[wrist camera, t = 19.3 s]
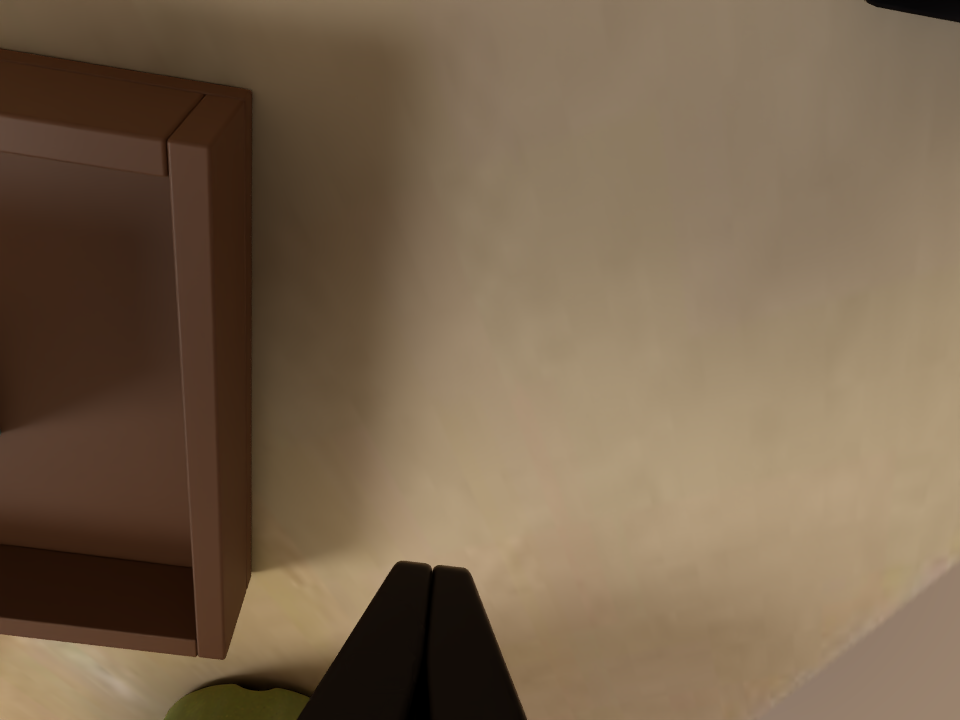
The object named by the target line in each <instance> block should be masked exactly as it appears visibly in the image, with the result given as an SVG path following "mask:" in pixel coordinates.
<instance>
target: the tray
mask: <svg viewBox="0 0 960 720" xmlns="http://www.w3.org/2000/svg"><path fill="white" fill-rule="evenodd" d="M251 317H252V92H251V90H248V89H242V88H236V87H230V86H223V85H217V84H211V83H205V82H199V81H193V80H187V79H181V78H175V77H169V76H163V75H156V74H150V73H144V72H138V71H132V70H126V69H120V68H114V67H108V66H102V65H96V64H89V63H83V62H77V61H71V60H65V59H59V58H53V57H47V56H41V55H35V54H29V53H22V52H16V51H10V50H4V49H0V430H1V435H0V634H3V635H12V636H20V637H29V638H37V639H46V640H55V641H63V642H72V643H80V644H89V645H97V646H106V647H114V648H123V649H132V650H140V651H149V652H157V653H166V654H174V655H183V656H191V657H196V656H197V655H198V656H199V657H204V658H212V659H221V660H223V659H225V658H226V655H227V652H228V649H229V645H230V642H231V639H232V636H233V632H234V629H235V626H236V623H237V619H238V616H239V613H240V610H241V607H242V603H243V600H244V597H245V594H246V589H247V588H248V584H249V581H250V578H251Z"/></svg>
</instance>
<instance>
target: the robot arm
mask: <svg viewBox="0 0 960 720" xmlns="http://www.w3.org/2000/svg"><path fill="white" fill-rule="evenodd" d="M864 1H866V2H867V3H869V4H871V5H874V6H876V7H880V8H885V9H890V10H896V11H901V12H906V13H911V14H917V15H922V16H927V17H933V18H938V19H943V20H948V21H954V22H959V23H960V0H864ZM297 720H527V718H526V715H525V712H524V710H523V707H522V705H521V702H520V700H519V697H518V694H517V692H516V689H515V687H514V684H513V681H512V679H511V676H510V674H509V671H508V668H507V666H506V663H505V661H504V658H503V656H502V653H501V650H500V648H499V645H498V643H497V640H496V637H495V635H494V632H493V630H492V627H491V625H490V622H489V619H488V617H487V614H486V612H485V609H484V606H483V604H482V601H481V599H480V596H479V593H478V591H477V588H476V586H475V583H474V581H473V578H472V576H471V574H470V572H469V571H468V570H467V569H466V568H462V567H453V566H444V565H437V566H435V567H434V568H433V571H432V568H431V566H430V565H429V564H426V563H419V562H410V561H399V562H397V563H396V564H395V565H394V566H393V568H392V569H391V571H390V572H389V574H388V576H387V577H386V579H385V580H384V582H383V584H382V585H381V587H380V588H379V590H378V591H377V593H376V595H375V596H374V598H373V599H372V601H371V603H370V604H369V606H368V607H367V609H366V610H365V612H364V614H363V615H362V617H361V618H360V620H359V622H358V623H357V625H356V626H355V628H354V629H353V631H352V633H351V634H350V636H349V637H348V639H347V641H346V642H345V644H344V645H343V647H342V648H341V650H340V652H339V653H338V655H337V656H336V658H335V660H334V661H333V663H332V664H331V666H330V667H329V669H328V671H327V672H326V674H325V675H324V677H323V679H322V680H321V682H320V683H319V685H318V686H317V688H316V690H315V691H314V693H313V694H312V696H311V698H310V699H309V701H308V702H307V704H306V705H305V707H304V709H303V710H302V712H301V713H300V715H299V717H298V718H297Z"/></svg>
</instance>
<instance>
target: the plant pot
mask: <svg viewBox="0 0 960 720" xmlns="http://www.w3.org/2000/svg"><path fill="white" fill-rule="evenodd" d="M309 699H310V698H309V697H307V696H304V695H302V694H299V693H296V692H293V691H289V690H285V689H281V688H274V689H271V690H267V691H252V690H248V689H245V688H242V687H240V686H238V685H236V684H224V685H217V686H211V687H206V688H203V689H200V690H197V691H195V692H192V693H190V694H188V695H186V696H184V697H183V698H181V699H180V700H179V701H177V702H176V703H175V704H174V705H173V706H172V707H171V708H170V710H169V711H168V713H167V715H166V716H165V718H164V720H297V718H298V717H299V715H300V713H301V712H302V710H303V709H304V707H305V705H306V704H307V702H308V701H309Z"/></svg>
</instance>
